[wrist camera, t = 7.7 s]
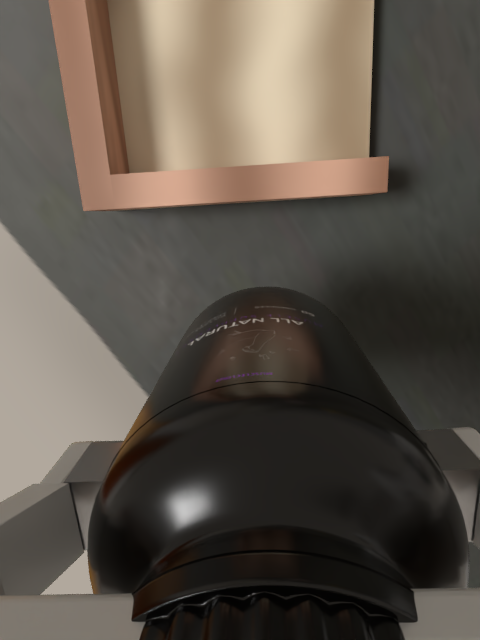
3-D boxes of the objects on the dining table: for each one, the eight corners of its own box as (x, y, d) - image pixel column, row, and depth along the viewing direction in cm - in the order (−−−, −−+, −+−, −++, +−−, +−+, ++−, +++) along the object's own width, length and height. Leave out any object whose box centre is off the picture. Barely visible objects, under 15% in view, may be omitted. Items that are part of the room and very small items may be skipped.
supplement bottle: (260, 242, 13) (306, 482, 2) (390, 365, 15) (901, 969, 3) (140, 372, 15) (-224, 924, 4) (266, 473, 16) (299, 1128, 5)
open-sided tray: (372, -160, 17) (408, -269, 13) (362, 195, 21) (387, 192, 17) (64, -128, 17) (11, -224, 14) (113, 210, 22) (83, 210, 18)
